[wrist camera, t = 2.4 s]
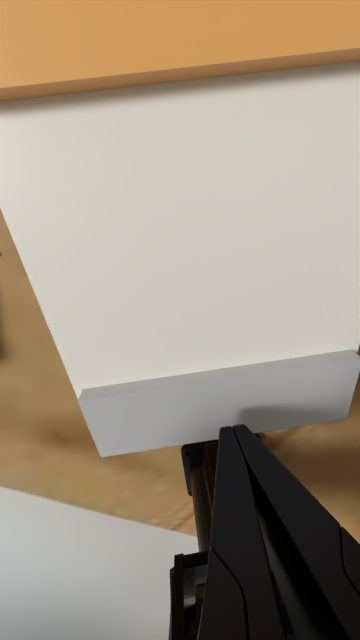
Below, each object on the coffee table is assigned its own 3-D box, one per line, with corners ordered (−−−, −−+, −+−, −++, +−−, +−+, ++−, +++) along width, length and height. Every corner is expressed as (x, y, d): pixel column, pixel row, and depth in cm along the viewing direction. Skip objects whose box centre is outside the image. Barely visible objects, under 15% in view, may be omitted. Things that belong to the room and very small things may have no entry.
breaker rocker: (328, 390, 11) (353, 417, 10) (101, 425, 11) (93, 458, 10) (437, -122, 5) (548, -249, 4) (-84, -73, 5) (-189, -192, 3)
